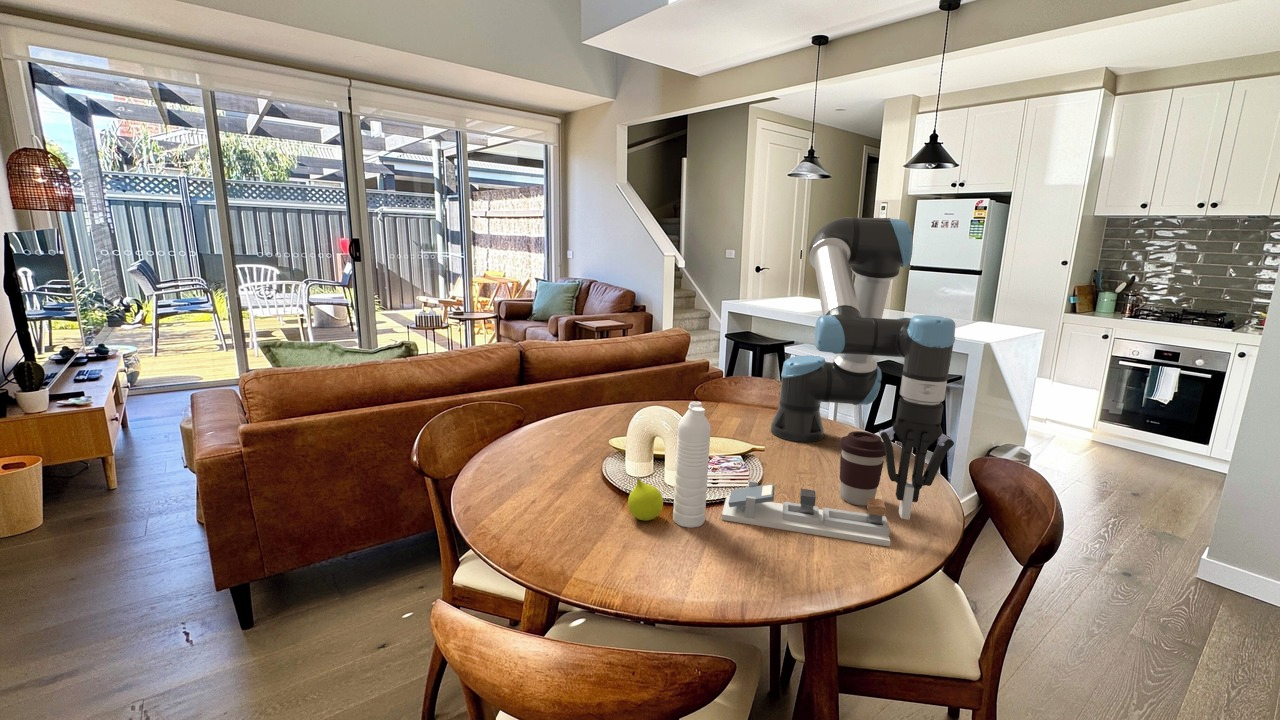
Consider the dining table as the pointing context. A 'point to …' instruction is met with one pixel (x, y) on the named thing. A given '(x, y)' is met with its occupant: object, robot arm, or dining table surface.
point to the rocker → (752, 495)
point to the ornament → (645, 501)
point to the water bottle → (691, 467)
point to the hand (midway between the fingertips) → (904, 515)
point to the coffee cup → (860, 466)
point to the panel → (808, 520)
